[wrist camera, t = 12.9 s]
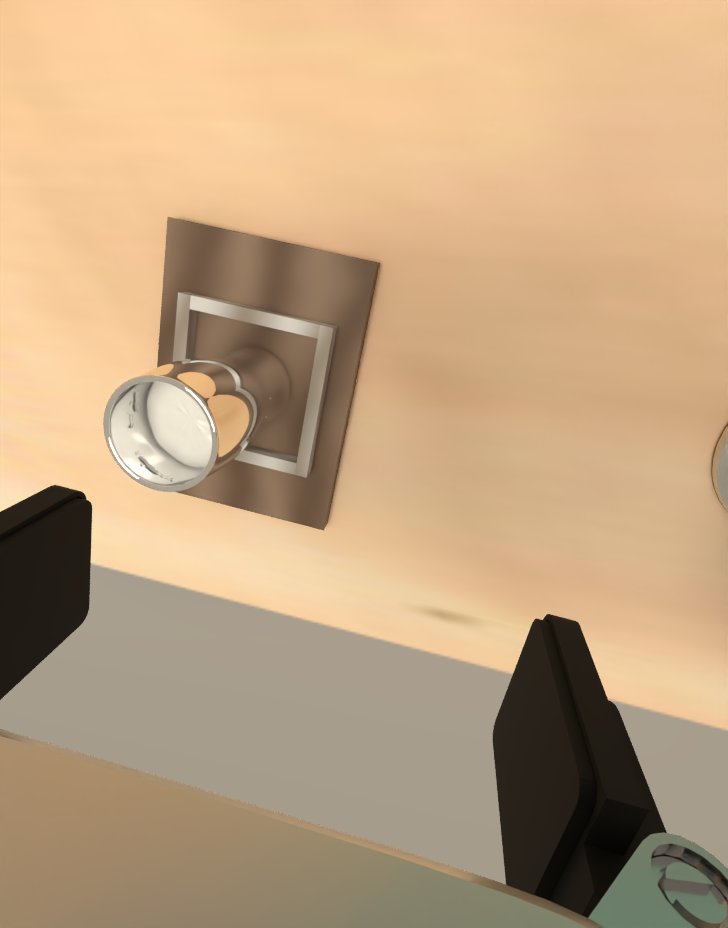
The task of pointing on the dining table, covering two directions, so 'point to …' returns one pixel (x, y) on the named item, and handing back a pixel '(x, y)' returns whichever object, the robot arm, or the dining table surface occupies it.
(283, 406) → the beer glass
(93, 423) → the dining table surface
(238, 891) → the robot arm
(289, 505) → the walnut board
